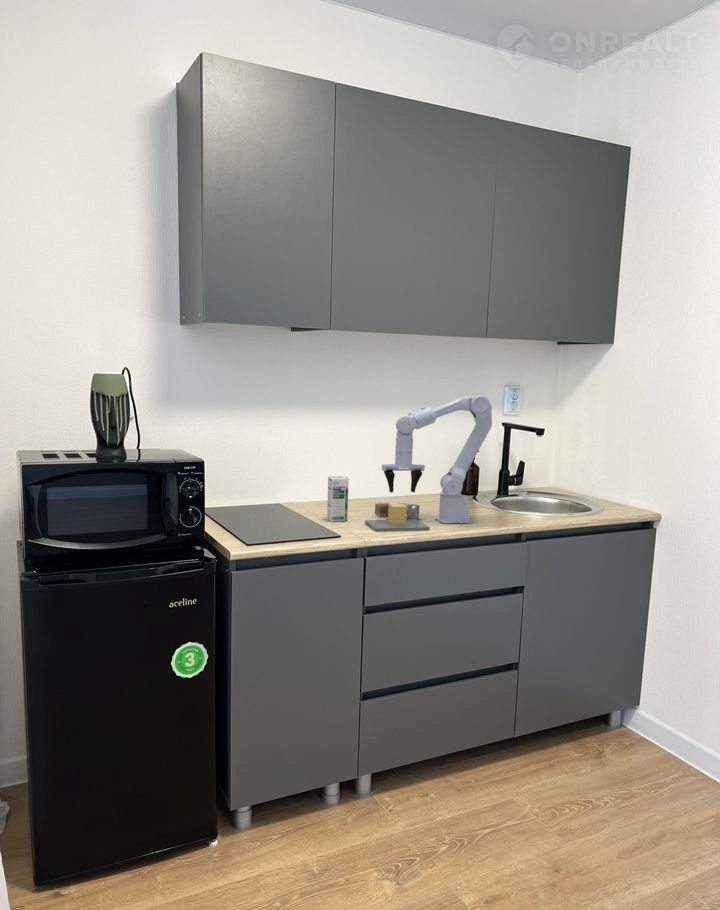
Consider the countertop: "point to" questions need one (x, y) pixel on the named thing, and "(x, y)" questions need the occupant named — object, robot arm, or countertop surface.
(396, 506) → the ochre block
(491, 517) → the countertop surface
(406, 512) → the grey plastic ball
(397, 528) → the slate board
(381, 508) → the walnut block
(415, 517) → the dark metal cylinder
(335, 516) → the syrup box
